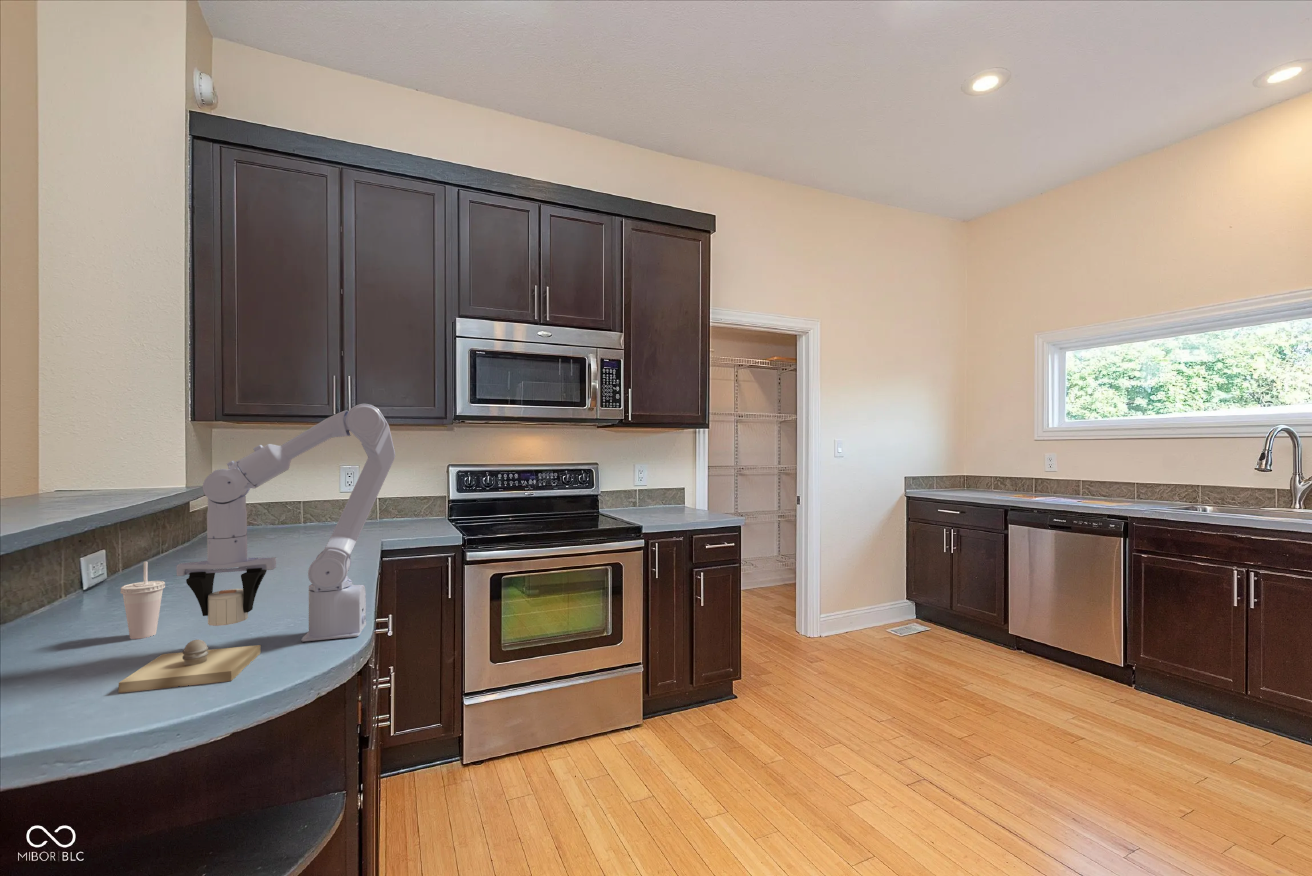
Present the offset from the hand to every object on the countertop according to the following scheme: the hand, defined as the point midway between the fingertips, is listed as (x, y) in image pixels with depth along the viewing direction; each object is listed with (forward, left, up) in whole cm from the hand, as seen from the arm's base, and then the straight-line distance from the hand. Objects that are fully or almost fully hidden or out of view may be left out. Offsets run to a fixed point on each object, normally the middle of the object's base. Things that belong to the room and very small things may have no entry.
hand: (228, 612), depth 103 cm
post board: (0, +12, -6) cm, 13 cm away
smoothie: (+18, -12, -6) cm, 23 cm away
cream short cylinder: (0, 0, -1) cm, 1 cm away
